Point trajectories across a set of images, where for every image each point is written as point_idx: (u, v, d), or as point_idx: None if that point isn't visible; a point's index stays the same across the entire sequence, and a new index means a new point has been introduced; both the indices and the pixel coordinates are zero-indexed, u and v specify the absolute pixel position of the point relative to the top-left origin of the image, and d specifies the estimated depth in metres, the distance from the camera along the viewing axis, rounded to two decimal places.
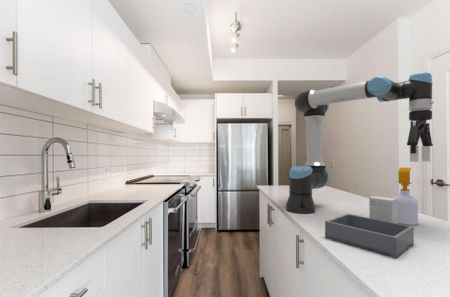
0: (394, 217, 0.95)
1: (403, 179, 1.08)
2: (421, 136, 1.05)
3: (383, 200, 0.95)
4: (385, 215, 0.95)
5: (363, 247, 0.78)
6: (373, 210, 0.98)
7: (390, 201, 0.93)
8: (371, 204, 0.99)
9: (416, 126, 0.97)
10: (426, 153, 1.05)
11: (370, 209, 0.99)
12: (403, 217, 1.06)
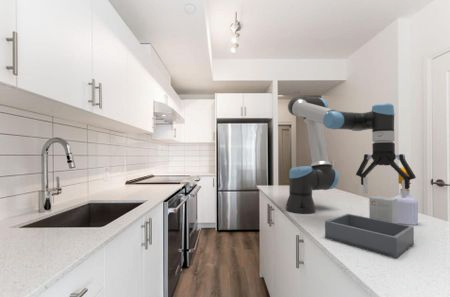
0: (394, 217, 0.95)
1: (403, 179, 1.08)
2: None
3: (383, 200, 0.95)
4: (385, 215, 0.94)
5: (363, 247, 0.78)
6: (373, 210, 0.98)
7: (390, 201, 0.93)
8: (371, 204, 0.99)
9: None
10: None
11: (370, 209, 0.99)
12: (403, 217, 1.06)
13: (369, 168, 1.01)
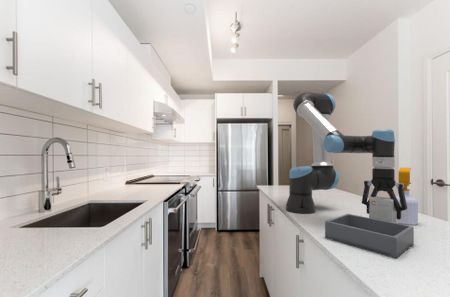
0: None
1: (403, 179, 1.08)
2: None
3: (383, 200, 0.95)
4: (386, 215, 0.94)
5: (363, 247, 0.78)
6: (373, 210, 0.98)
7: (390, 201, 0.93)
8: (371, 204, 0.99)
9: None
10: None
11: (370, 209, 0.99)
12: (403, 217, 1.06)
13: (372, 195, 1.00)
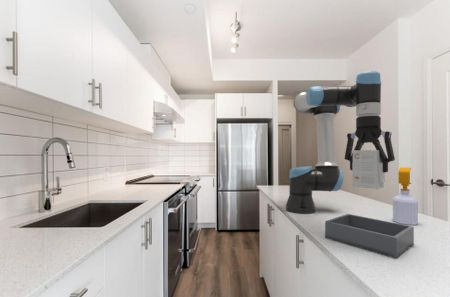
0: None
1: (403, 179, 1.08)
2: None
3: (367, 151, 0.83)
4: (370, 168, 0.83)
5: (363, 247, 0.78)
6: (356, 164, 0.86)
7: (375, 151, 0.82)
8: (354, 158, 0.87)
9: None
10: None
11: (353, 163, 0.87)
12: (403, 217, 1.06)
13: (356, 149, 0.88)
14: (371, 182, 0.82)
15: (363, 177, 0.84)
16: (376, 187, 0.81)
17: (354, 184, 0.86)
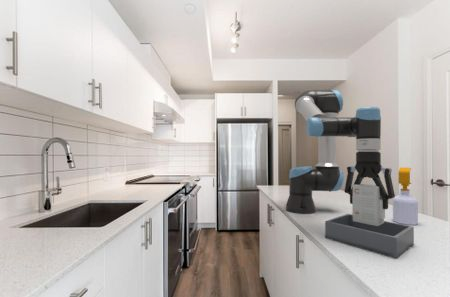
0: None
1: (403, 179, 1.08)
2: None
3: (367, 187, 0.83)
4: (370, 205, 0.82)
5: (363, 247, 0.78)
6: (356, 199, 0.86)
7: (375, 188, 0.81)
8: (354, 192, 0.86)
9: None
10: None
11: (353, 198, 0.87)
12: (403, 217, 1.06)
13: (356, 183, 0.88)
14: (371, 219, 0.82)
15: (363, 213, 0.84)
16: (376, 224, 0.81)
17: (354, 219, 0.86)
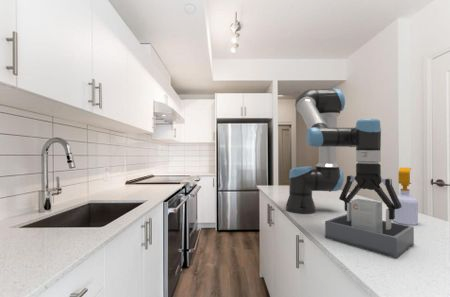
0: (378, 223, 0.83)
1: (403, 179, 1.08)
2: None
3: (366, 203, 0.83)
4: (369, 221, 0.83)
5: (363, 247, 0.78)
6: (355, 214, 0.86)
7: (374, 205, 0.82)
8: (353, 208, 0.87)
9: None
10: None
11: (352, 214, 0.87)
12: (403, 217, 1.06)
13: (353, 192, 0.89)
14: None
15: None
16: None
17: None
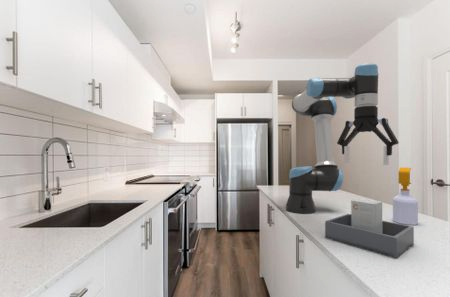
0: (378, 223, 0.83)
1: (403, 179, 1.08)
2: None
3: (366, 203, 0.83)
4: (369, 221, 0.83)
5: (363, 247, 0.78)
6: (355, 214, 0.86)
7: (374, 205, 0.82)
8: (353, 208, 0.87)
9: None
10: None
11: (352, 214, 0.87)
12: (403, 217, 1.06)
13: (350, 135, 0.94)
14: None
15: None
16: None
17: None
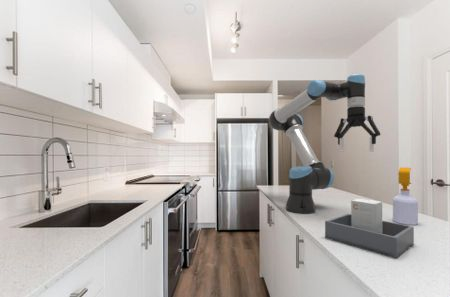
0: (378, 223, 0.83)
1: (403, 179, 1.08)
2: None
3: (366, 203, 0.83)
4: (369, 221, 0.83)
5: (363, 247, 0.78)
6: (355, 214, 0.86)
7: (374, 205, 0.82)
8: (353, 208, 0.87)
9: None
10: None
11: (352, 214, 0.87)
12: (403, 217, 1.06)
13: (344, 130, 1.20)
14: None
15: None
16: None
17: None
